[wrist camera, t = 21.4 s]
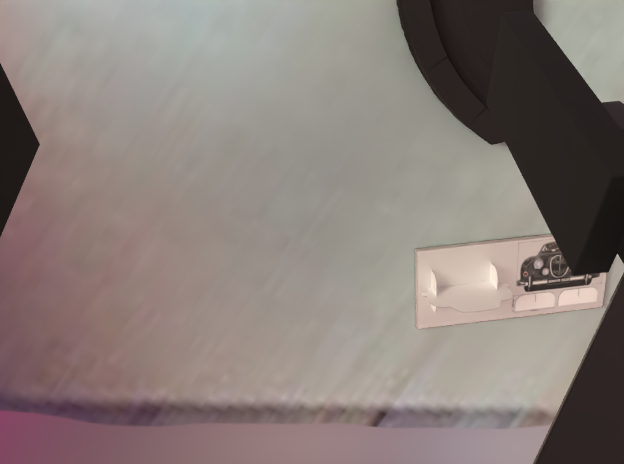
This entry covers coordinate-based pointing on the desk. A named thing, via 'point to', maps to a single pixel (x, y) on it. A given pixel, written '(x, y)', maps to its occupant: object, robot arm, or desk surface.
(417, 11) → the fan shaped piece
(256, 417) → the desk surface
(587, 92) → the robot arm
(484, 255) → the white plate with bracket
